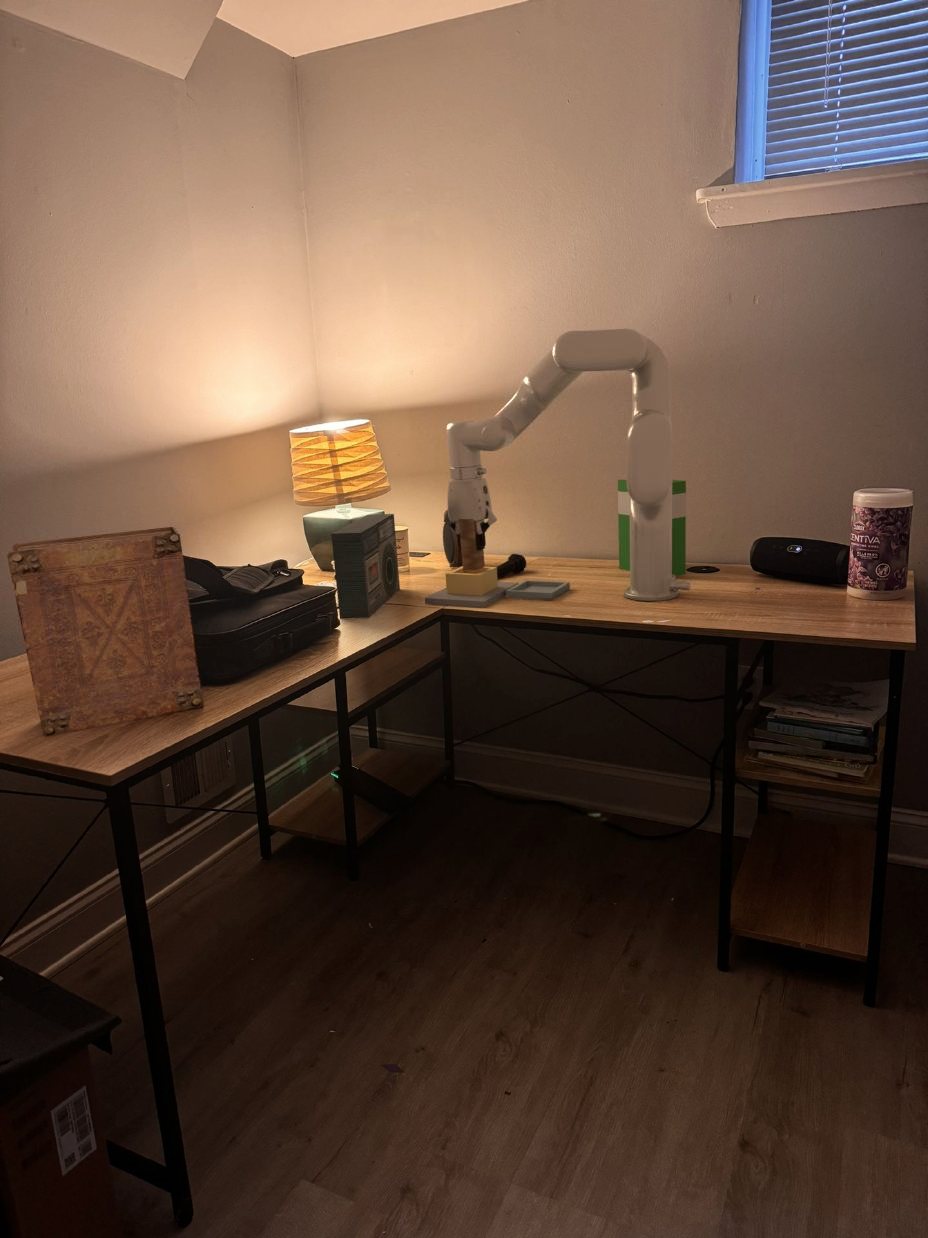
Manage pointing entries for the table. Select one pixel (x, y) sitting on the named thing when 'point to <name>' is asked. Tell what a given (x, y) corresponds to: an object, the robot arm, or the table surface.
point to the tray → (538, 590)
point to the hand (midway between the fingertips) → (472, 548)
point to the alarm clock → (451, 545)
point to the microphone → (512, 565)
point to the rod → (470, 546)
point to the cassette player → (365, 565)
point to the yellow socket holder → (470, 588)
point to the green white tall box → (677, 526)
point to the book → (106, 628)
